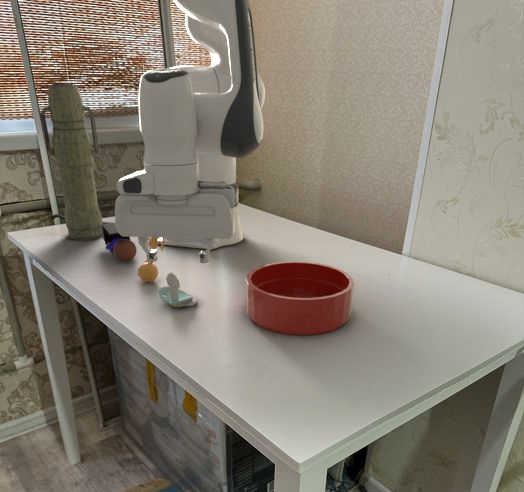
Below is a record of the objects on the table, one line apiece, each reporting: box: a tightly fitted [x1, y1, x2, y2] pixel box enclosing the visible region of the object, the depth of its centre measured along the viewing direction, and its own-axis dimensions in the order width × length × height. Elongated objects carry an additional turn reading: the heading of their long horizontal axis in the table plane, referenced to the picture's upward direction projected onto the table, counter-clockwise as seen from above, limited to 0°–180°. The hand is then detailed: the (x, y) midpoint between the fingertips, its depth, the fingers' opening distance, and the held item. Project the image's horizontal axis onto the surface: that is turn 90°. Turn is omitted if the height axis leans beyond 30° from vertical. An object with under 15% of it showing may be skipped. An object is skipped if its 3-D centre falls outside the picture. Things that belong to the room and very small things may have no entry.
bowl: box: [245, 260, 355, 336], centre depth 90 cm, size 19×19×6 cm
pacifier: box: [158, 272, 198, 308], centre depth 93 cm, size 7×6×6 cm
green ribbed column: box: [39, 83, 103, 241], centre depth 124 cm, size 9×12×35 cm
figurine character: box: [101, 221, 137, 262], centre depth 118 cm, size 7×8×15 cm
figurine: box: [137, 237, 165, 283], centre depth 102 cm, size 8×6×12 cm
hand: (178, 261), depth 90 cm, fingers open, 8 cm apart
